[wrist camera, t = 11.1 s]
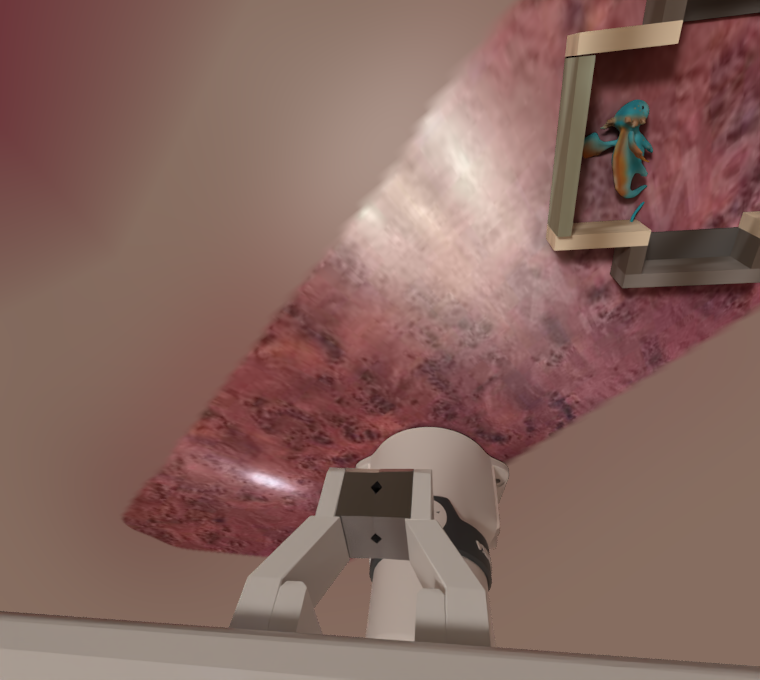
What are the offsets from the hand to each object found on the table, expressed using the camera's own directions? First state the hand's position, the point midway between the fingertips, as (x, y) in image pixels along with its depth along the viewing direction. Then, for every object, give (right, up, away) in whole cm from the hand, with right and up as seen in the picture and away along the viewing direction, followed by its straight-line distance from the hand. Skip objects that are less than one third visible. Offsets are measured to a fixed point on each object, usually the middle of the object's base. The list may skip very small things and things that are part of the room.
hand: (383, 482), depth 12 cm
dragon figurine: (+19, +18, +22) cm, 34 cm away
